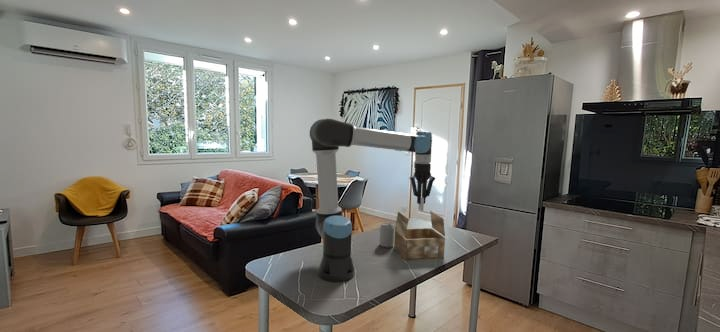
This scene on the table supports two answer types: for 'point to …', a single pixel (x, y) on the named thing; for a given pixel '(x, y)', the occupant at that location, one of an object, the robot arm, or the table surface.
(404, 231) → the flap left
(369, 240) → the table surface
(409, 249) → the carton
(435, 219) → the flap right
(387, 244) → the can
